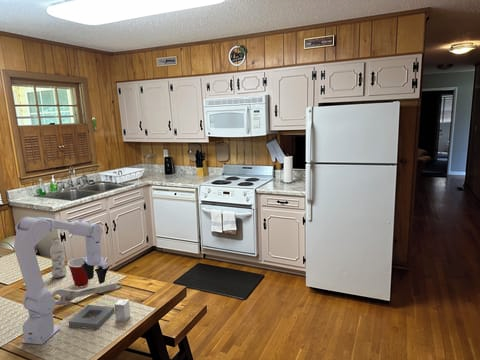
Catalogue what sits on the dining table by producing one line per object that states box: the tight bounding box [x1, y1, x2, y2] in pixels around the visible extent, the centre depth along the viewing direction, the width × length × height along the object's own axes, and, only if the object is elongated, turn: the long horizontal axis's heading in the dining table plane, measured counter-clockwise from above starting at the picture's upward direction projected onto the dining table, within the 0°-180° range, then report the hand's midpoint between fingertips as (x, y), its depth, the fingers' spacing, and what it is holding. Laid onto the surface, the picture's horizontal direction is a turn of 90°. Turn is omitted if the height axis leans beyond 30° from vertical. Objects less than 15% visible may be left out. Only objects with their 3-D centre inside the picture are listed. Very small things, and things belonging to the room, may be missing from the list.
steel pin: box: [114, 298, 131, 322], centre depth 129 cm, size 4×4×7 cm
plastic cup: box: [66, 257, 89, 288], centre depth 158 cm, size 11×11×12 cm
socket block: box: [68, 304, 115, 330], centre depth 130 cm, size 12×12×2 cm
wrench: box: [50, 281, 122, 307], centre depth 146 cm, size 8×2×30 cm
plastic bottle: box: [49, 237, 67, 279], centre depth 166 cm, size 6×7×20 cm
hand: (96, 280), depth 141 cm, fingers open, 7 cm apart
